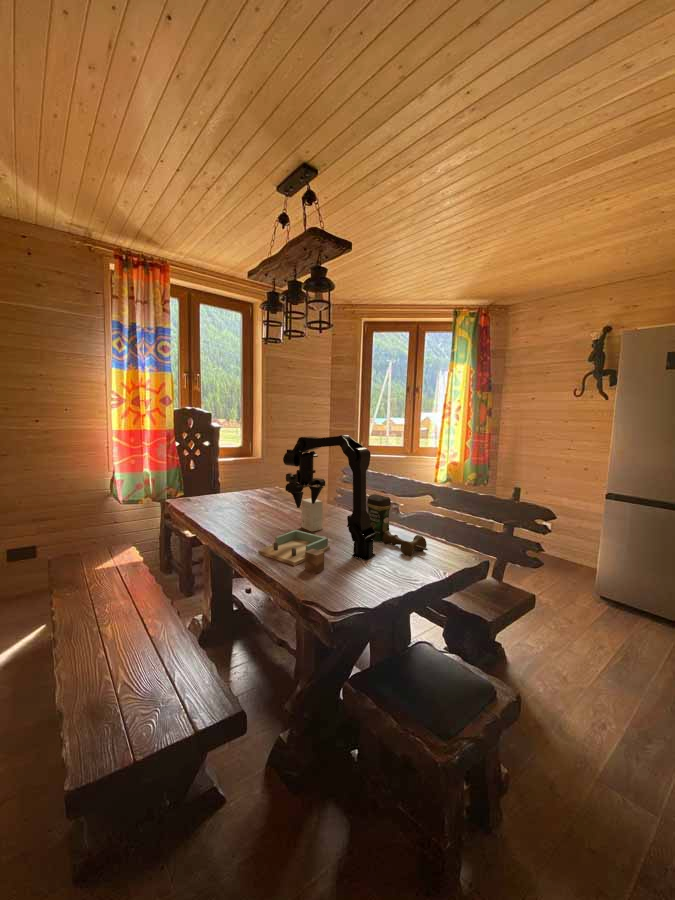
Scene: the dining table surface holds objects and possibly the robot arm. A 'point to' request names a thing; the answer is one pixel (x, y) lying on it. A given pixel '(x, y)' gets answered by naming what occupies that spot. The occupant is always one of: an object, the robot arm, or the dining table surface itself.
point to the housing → (315, 540)
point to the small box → (312, 515)
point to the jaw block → (314, 560)
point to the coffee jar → (379, 514)
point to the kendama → (406, 543)
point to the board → (288, 551)
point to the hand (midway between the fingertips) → (305, 505)
